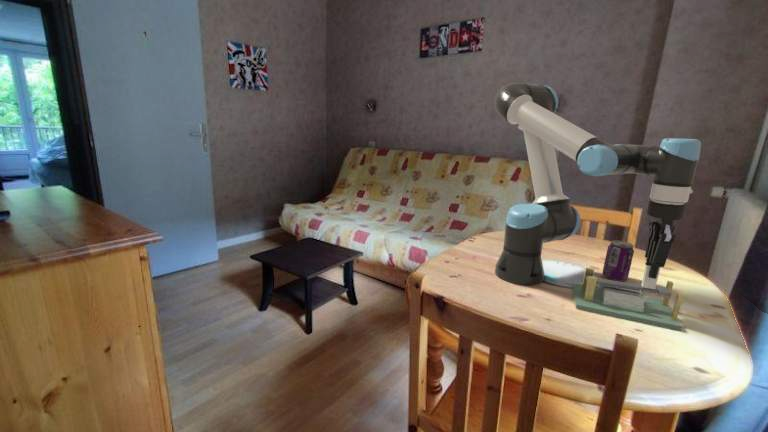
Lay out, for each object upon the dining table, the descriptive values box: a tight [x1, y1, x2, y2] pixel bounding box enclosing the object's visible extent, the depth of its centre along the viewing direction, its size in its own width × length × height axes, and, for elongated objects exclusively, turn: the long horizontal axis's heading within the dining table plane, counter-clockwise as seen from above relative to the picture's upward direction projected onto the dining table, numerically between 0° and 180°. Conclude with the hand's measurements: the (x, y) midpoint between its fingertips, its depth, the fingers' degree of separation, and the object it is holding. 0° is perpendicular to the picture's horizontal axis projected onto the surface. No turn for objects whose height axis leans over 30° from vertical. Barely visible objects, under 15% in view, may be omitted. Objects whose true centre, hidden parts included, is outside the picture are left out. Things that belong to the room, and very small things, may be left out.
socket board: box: [572, 282, 683, 332], centre depth 96 cm, size 23×15×1 cm, turn 65°
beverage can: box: [601, 240, 635, 282], centre depth 112 cm, size 7×7×12 cm
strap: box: [586, 275, 672, 298], centre depth 94 cm, size 19×4×2 cm, turn 65°
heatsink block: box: [598, 284, 645, 313], centre depth 95 cm, size 9×9×4 cm
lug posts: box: [582, 267, 684, 320], centre depth 94 cm, size 21×9×7 cm, turn 65°
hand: (648, 287), depth 92 cm, fingers closed
